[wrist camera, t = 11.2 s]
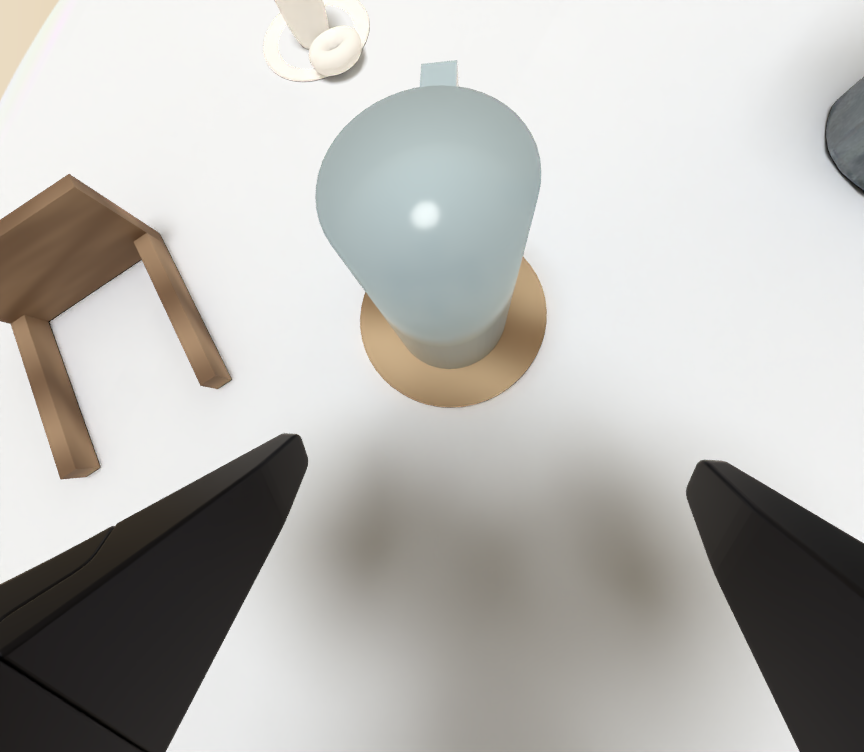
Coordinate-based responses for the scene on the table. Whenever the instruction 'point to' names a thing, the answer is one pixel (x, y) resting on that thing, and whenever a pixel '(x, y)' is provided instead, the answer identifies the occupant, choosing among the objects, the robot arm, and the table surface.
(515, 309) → the coaster
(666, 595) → the table surface
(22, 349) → the dock
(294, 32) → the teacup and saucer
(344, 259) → the jug
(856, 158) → the moka pot
